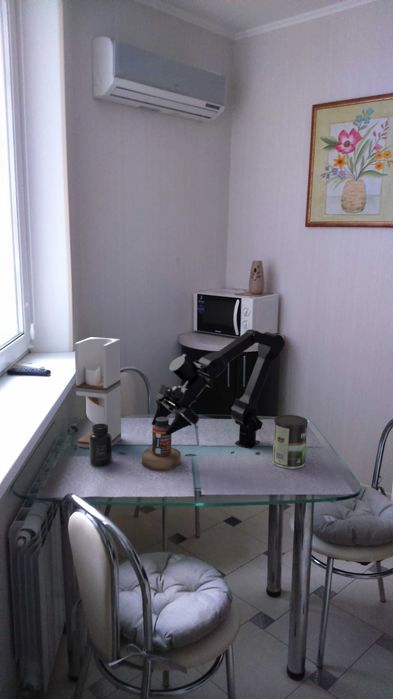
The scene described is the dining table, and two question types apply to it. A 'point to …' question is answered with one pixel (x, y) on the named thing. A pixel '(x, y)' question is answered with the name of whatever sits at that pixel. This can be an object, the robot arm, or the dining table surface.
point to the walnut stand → (161, 460)
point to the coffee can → (289, 441)
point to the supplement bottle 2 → (161, 437)
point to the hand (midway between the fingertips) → (159, 429)
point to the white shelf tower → (100, 383)
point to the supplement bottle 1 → (100, 445)
